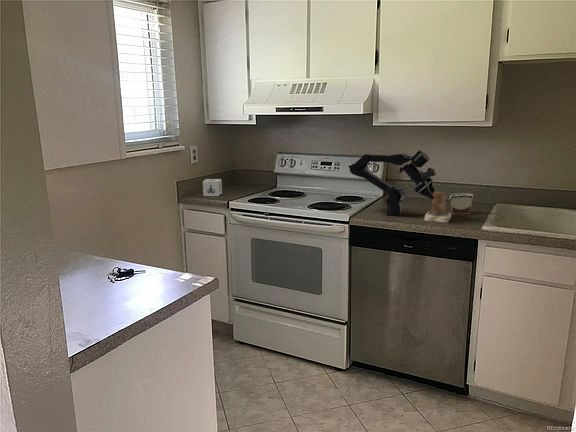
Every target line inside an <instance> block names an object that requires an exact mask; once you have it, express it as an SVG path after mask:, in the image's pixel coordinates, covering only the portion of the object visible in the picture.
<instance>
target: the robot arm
mask: <svg viewBox="0 0 576 432" xmlns="http://www.w3.org/2000/svg"><path fill="white" fill-rule="evenodd" d="M429 161H430V157H429V155H427V154H426V153H425V152H423V151H422V150H420V149H419V150H418V151H417V152H416V153H415V154H414V155H413V156H411V155H408V154H407V153H406V152H401V153H394V154H380V153H378V154H377V153H365V154H363V155H362V157H360V158H359V159H358V160H357V161H356V162H354V163H351V164H350V166H349V172H350V174H352V175H354V176H357V177H359V178H363V179H365V180H366V181H368V182H369V183H371V184H372V185H374V186H375V187H377V188H378V189H380V190H382V191H383V192H384V193H385V194H386V196H387V197H388V198H386V199H385V202H386V204H387V205H386V214H385V215H386V216H392V217H399V216H400V215H401V214H402V200H404V198H405V197H406V191H405V189H404V187H402V186H400V185H398V184H397V183H396V184H393V185H392V184H390V183H388V182H387V181H386V180H384V179H382V178H380V177H379V176H377V175H375V174H374V173H373V172H371V171H370V170H369V169H368V167H367V166H368V165H369V163H370V162H372V163H374V162H375V163H390V164H392V165H396V166H400V167H399V172H398V173H400V174H401V173H403V172H404V173H405V175H407V177H408V178H409V180H410V181H411V182H413V183H414V184H415V187H414V192H415V193H418V194H419V195H422V196H425V197H426V198H429V199H431V200H432V199H434V196H433V192H434V191H436V189H435V187H434V179H433V177H434V176H436V175H437V172H436V169H435V168H432V167H428V168H427V170H426V171H422V170H420V169H418V168H422V167H423V166H424V165H426V164H427V163H428V162H429ZM402 165H404V166H402Z"/></svg>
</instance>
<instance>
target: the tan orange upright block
mask: <svg viewBox="0 0 576 432" xmlns="http://www.w3.org/2000/svg"><path fill="white" fill-rule="evenodd" d="M432 195H433V196H434V199H431V200H432V201H431V210H432V214H441V215H444V214H445V211H446V202H447V201H446V200H447V191H439V190H435V191H434V192H433V194H432Z"/></svg>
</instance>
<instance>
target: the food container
mask: <svg viewBox="0 0 576 432" xmlns="http://www.w3.org/2000/svg"><path fill="white" fill-rule="evenodd" d="M449 199H450V213H451V215H458V214H459V215H466V214H467V215H470V214H471V209H472V203H473V199H475V197H474V194H472V193H468V192H467V193H466V192H455V193H451V194H450V195H449Z"/></svg>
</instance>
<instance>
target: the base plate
mask: <svg viewBox="0 0 576 432" xmlns="http://www.w3.org/2000/svg"><path fill="white" fill-rule="evenodd" d="M451 219H452V213H451V212H449V211H448V210H447V211H446V210H445V214H444V215H441V214H432V209H431V210H428V211H427V212H426V213H425V215H424V221H426V222H427V221H428V222H437V223H438V222H439V223H449V222H450V220H451Z"/></svg>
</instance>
